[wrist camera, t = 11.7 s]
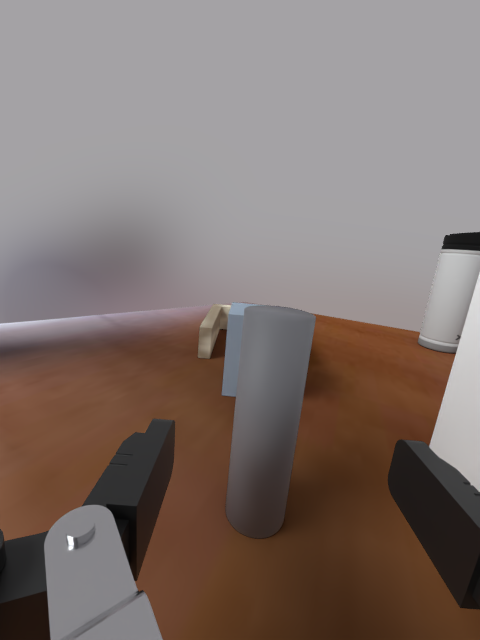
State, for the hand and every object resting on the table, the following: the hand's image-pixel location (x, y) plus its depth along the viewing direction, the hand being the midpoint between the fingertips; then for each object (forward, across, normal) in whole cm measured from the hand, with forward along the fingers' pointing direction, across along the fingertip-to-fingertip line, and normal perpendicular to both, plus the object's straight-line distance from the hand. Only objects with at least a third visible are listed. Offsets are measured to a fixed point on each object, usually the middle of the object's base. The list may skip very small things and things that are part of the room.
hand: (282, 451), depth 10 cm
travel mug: (+40, -34, +7) cm, 52 cm away
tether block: (+12, 0, +7) cm, 14 cm away
